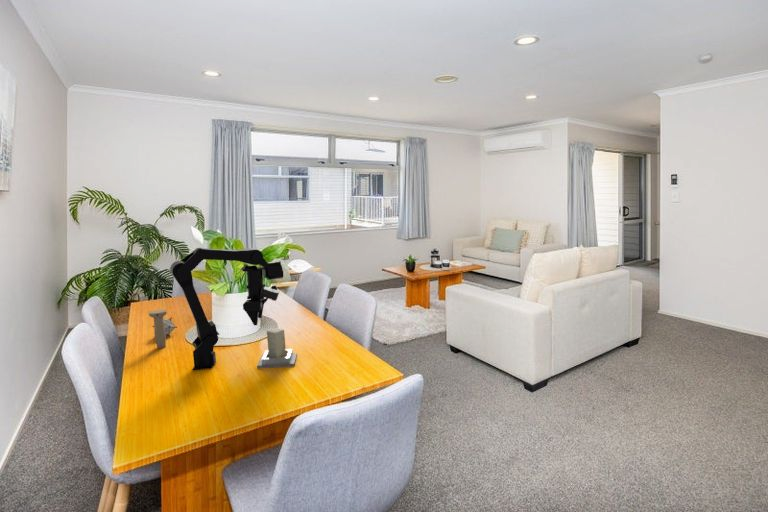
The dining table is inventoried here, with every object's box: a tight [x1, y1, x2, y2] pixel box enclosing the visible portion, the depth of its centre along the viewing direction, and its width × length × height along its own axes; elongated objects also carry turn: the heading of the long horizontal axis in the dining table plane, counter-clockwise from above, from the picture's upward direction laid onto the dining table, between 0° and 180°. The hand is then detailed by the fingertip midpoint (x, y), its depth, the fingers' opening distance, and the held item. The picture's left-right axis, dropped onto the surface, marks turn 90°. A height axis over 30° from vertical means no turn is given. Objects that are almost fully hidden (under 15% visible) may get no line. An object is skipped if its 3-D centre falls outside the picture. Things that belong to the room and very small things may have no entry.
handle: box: [148, 309, 168, 349], centre depth 172 cm, size 5×6×15 cm
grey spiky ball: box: [151, 317, 178, 337], centre depth 187 cm, size 9×8×10 cm
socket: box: [256, 348, 298, 369], centre depth 156 cm, size 13×10×3 cm
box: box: [266, 327, 287, 358], centre depth 155 cm, size 5×4×11 cm
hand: (257, 321), depth 162 cm, fingers open, 9 cm apart
